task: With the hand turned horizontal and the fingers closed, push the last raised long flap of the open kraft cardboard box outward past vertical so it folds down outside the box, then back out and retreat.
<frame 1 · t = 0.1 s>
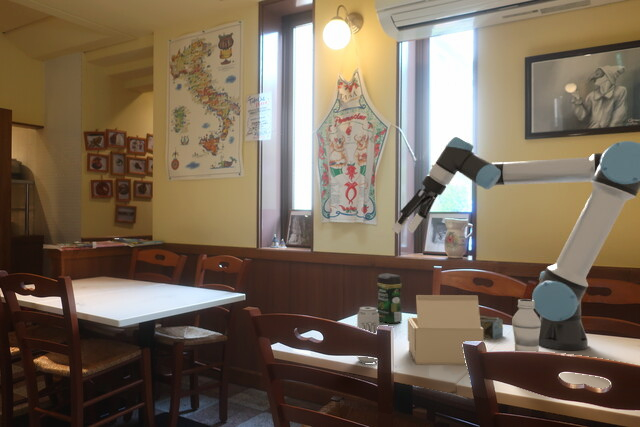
hand: (402, 231, 166), 36 cm above the table, tool tilted 35°, fingers open, 13 cm apart
plastic bottle: (527, 382, 117), on the table
beverage carton: (472, 334, 167), on the table
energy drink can: (368, 362, 134), on the table
kraft box: (443, 357, 138), on the table
coffee jar: (389, 321, 187), on the table
long flap: (448, 311, 133), point 14 cm above the table, hinge at 70.0°
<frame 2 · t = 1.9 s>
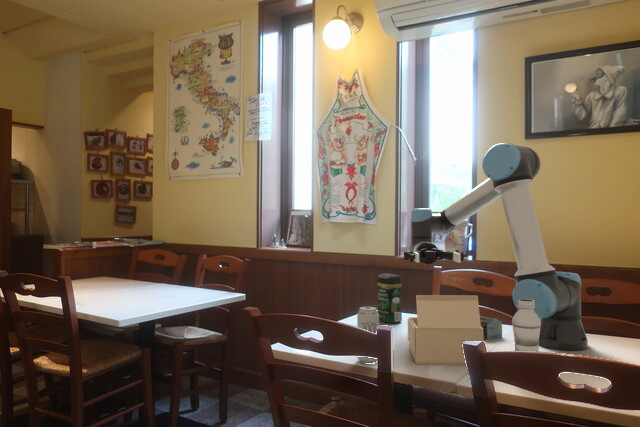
hand: (438, 258, 146), 28 cm above the table, tool horizontal, fingers open, 12 cm apart
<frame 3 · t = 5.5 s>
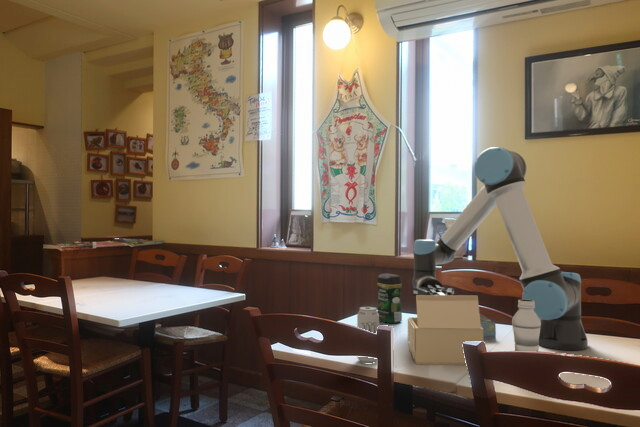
hand: (444, 300, 135), 17 cm above the table, tool horizontal, fingers closed
long flap: (448, 311, 133), point 14 cm above the table, hinge at 70.0°, touching gripper
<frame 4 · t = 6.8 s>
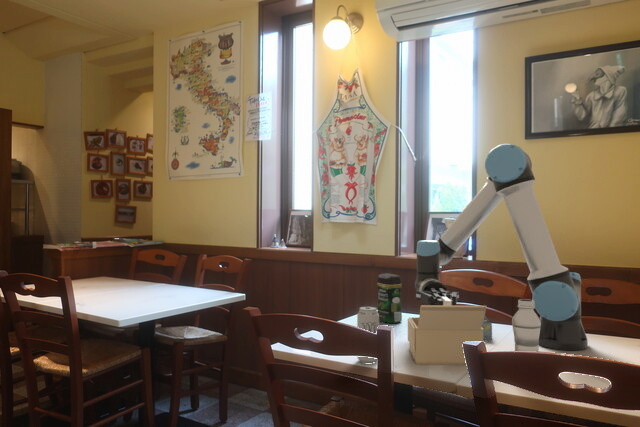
hand: (448, 305, 128), 17 cm above the table, tool horizontal, fingers closed
long flap: (451, 317, 128), point 13 cm above the table, hinge at 126.3°, touching gripper
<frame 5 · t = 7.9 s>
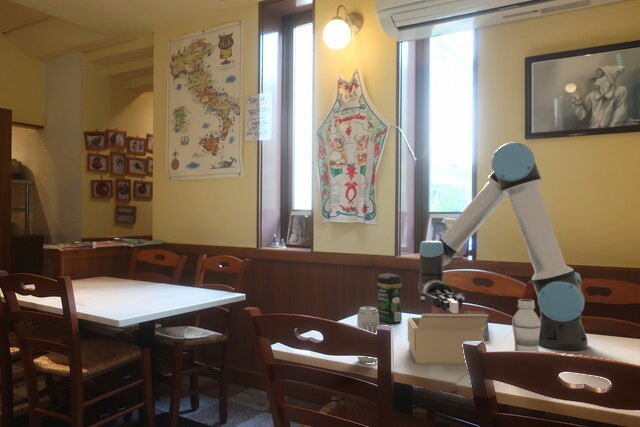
hand: (455, 307, 124), 17 cm above the table, tool horizontal, fingers closed
long flap: (452, 322, 128), point 12 cm above the table, hinge at 143.3°
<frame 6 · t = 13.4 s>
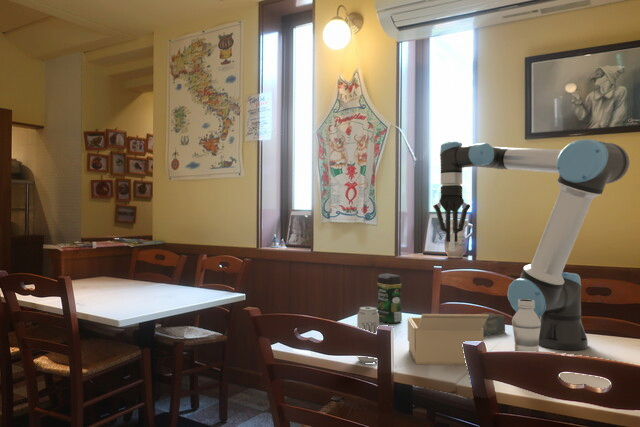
hand: (451, 250, 172), 28 cm above the table, tool pointing down, fingers closed
at the end: long flap at +143° (first picture: +70°) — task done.
